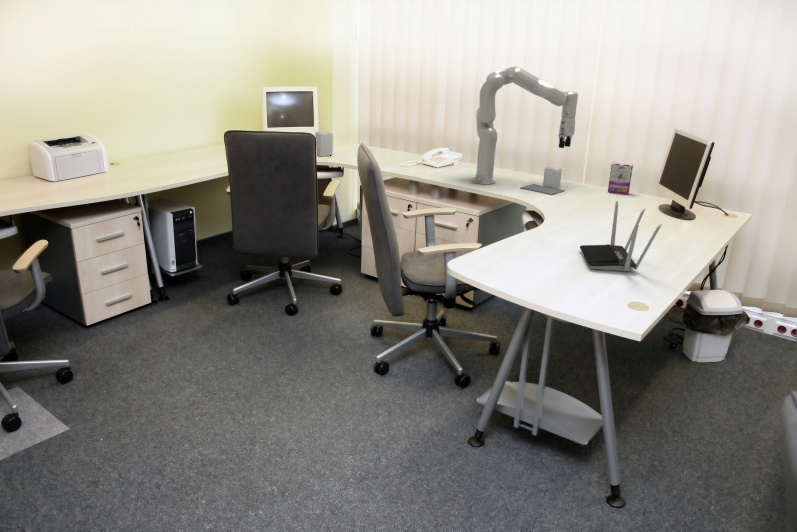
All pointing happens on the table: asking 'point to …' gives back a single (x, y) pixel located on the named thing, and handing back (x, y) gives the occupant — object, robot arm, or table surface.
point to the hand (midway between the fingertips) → (564, 146)
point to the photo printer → (552, 176)
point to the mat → (542, 189)
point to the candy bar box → (620, 178)
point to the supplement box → (324, 143)
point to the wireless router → (615, 250)
